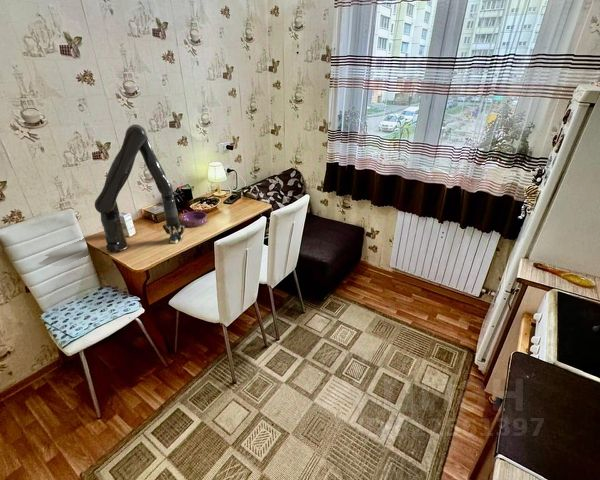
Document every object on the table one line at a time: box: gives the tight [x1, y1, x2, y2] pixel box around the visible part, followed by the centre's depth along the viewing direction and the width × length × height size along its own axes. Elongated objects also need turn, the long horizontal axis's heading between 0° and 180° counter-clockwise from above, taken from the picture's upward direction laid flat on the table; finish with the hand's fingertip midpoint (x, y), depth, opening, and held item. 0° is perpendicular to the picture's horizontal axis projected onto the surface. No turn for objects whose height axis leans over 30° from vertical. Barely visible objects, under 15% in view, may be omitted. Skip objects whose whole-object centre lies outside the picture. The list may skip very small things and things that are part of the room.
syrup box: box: [119, 211, 137, 238], centre depth 193 cm, size 6×6×14 cm
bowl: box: [180, 210, 208, 227], centre depth 214 cm, size 17×17×4 cm
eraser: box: [169, 231, 183, 244], centre depth 190 cm, size 8×4×4 cm, turn 173°
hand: (176, 239), depth 191 cm, fingers closed on eraser, 3 cm apart
